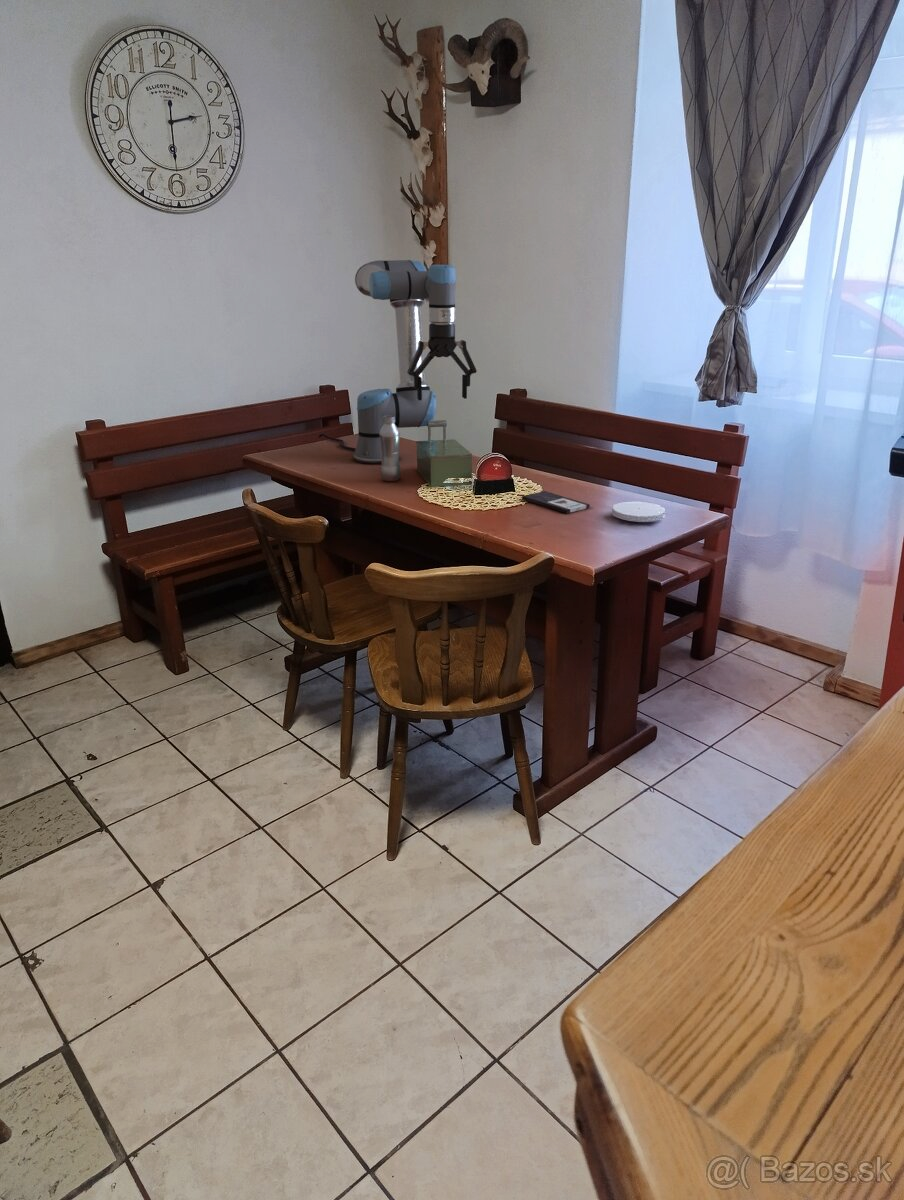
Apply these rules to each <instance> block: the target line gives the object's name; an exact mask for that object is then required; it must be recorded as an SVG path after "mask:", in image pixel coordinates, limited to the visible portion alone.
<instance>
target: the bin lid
mask: <svg viewBox="0 0 904 1200" xmlns="http://www.w3.org/2000/svg"><path fill="white" fill-rule="evenodd" d="M447 423H448V421H447V420H446V419H442V420H439V419H438V420H433V421H427V426H426V427H427V440H417V441H416V442H415V444H416V446H417V445H418V446H419V447H420V448H421V449H422V450H423V451H424V452H425V453H426V454H427V455H428V456H429V457H430V459H436V458H454V457H471V456H472V457H473V453H472V452H471V451H469V450H468V449H467V448H466V447H465V446H463V445H462V444H461V443H460V442H458V441H457V440H456V439H453V438H451V439H447V425H448V424H447ZM440 427H441V428H442V439H436V440H435V439H434V440H433V439H432V429H431V428H440Z"/></svg>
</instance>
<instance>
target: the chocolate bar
mask: <svg viewBox="0 0 904 1200" xmlns="http://www.w3.org/2000/svg"><path fill="white" fill-rule="evenodd" d="M521 499H522V500H523V501H526V502H528V503H529V502H530V503H532V504H536V505H538V506H541V507H546V508H548V509H551V510H554V511H557V512H561V513H564V514H570V513H574V512H577V511H582V510H586V509H589V508H590V504H589V503H587V502H583V501H580V500H577V499H573V498H571V497H566V496H564V495H560V494H556V493H553V492H550V491H547V490H542V491H538V492H533V493H530V494H529V493H528V494H525V495H522V496H521Z"/></svg>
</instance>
